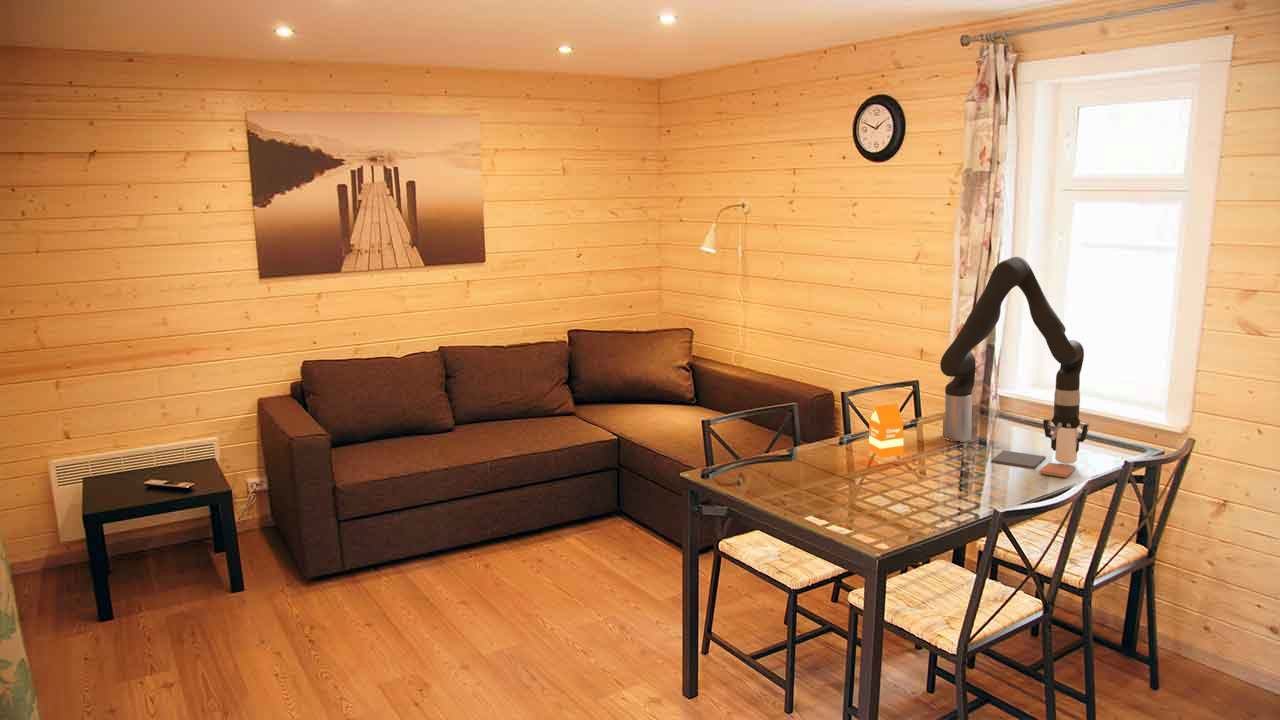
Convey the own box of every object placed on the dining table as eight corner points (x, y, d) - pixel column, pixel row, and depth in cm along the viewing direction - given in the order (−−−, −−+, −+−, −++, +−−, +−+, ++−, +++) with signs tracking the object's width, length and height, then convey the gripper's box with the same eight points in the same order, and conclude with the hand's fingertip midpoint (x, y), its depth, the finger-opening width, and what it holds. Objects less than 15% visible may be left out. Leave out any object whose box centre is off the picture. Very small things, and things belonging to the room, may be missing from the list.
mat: (991, 462, 306) (991, 459, 306) (1003, 452, 315) (1003, 450, 314) (1034, 468, 297) (1034, 466, 297) (1045, 458, 306) (1045, 456, 306)
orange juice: (903, 462, 311) (903, 406, 307) (880, 465, 309) (880, 409, 305) (891, 455, 319) (891, 400, 314) (869, 458, 317) (868, 403, 312)
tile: (1048, 465, 299) (1039, 473, 291) (1049, 462, 298) (1039, 470, 291) (1074, 470, 294) (1066, 478, 286) (1075, 466, 293) (1066, 474, 286)
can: (1071, 456, 301) (1073, 422, 298) (1080, 463, 294) (1082, 428, 292) (1051, 457, 301) (1053, 423, 298) (1060, 464, 295) (1062, 428, 292)
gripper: (1040, 402, 295) (1038, 451, 299) (1087, 407, 286) (1085, 458, 290) (1046, 396, 301) (1045, 445, 305) (1093, 401, 292) (1091, 451, 296)
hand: (1064, 451), depth 297 cm, fingers closed on can, 5 cm apart
